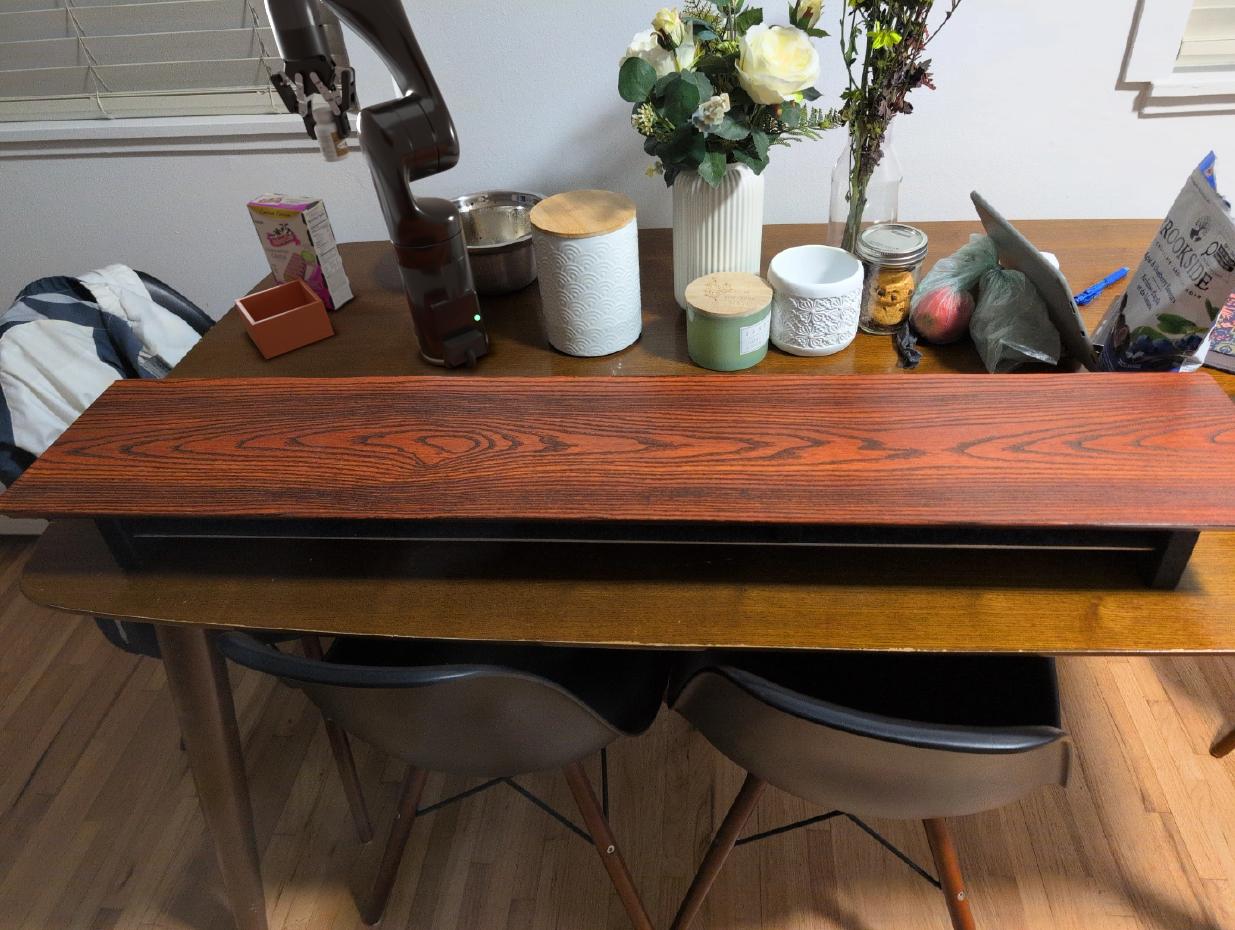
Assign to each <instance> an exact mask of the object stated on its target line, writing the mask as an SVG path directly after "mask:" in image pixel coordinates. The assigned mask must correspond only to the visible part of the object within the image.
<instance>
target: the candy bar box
mask: <svg viewBox="0 0 1235 930" xmlns="http://www.w3.org/2000/svg"><path fill="white" fill-rule="evenodd" d="M245 205H246V208H247V210H248V212H249V215H250V219H251V220H252V224H253V226H254V228H255V231H256V234H257V236H258V239H259V242H260V244H261V247H262V250H263V251H264V254H265V257H266V260H267V263H268V265H269V268H270V270H271V273H272V275H273V278H274V281H275V284H276V286H279V285H282V284H285V283H288V282H291V281H294V280H297V279H300V278H301V279H302V280H303V281H304V282H305V283H306V284H307V285H308V286H309V287H310V288H311V289H312V290H313V291H314V292H315V293H316V295H317V296H318V297H319V298H320V299H321V300H322V301H323V304H324V307H325V309H326V310H332V311H336V310H339V308H341V307H342V306H344V305H345V304H347V303H348V302H349V301H350V300H352V299H353V298H354V293H353V290H352V287H351V284H350V280H349V278H348V274H347V271H346V269H345V265H344V262H343V259H342V256H341V253H340V250H339V245H338V244H337V240H336V237H335V234H334V231H333V227H332V225H331V221H330V219H329V215H328V211H327V210H326V209H327V208H326V207H325V203H324V200H323V198H318V197H310V196H309V197H308V196H301V195H290V194H283V193H276V192H275V193H274V192H266V193H264V194H262V195H260V196H258V197H256V198H255V199H253V200H250V201H249V202H248V203H246V204H245Z"/></svg>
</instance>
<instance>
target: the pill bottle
mask: <svg viewBox="0 0 1235 930" xmlns="http://www.w3.org/2000/svg"><path fill="white" fill-rule="evenodd" d="M312 114H313V118H314V119H315V121H316V122H317V124H316V125H315V127H314V130H315V134H316V137H317V140H316V141H317V144H318V146H319V150H320V153H321V156H322V160H323V161H324V162H326V163H336V162H337V163H338V162H340V161H341V162H342V161H345V160H346V159H348V158H349V157H350V156H351V153H350V149H349V145H348V142H347V138H346V139H341V138H340V136H339V133H338V130H337V126H336V123H335V119H334V115H335V114H334V112H333V111H332V109H331V107H330V105H328V106H321V107H320V106H319V107H317V108H313V111H312Z"/></svg>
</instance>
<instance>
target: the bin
mask: <svg viewBox="0 0 1235 930" xmlns="http://www.w3.org/2000/svg"><path fill="white" fill-rule="evenodd" d="M233 301H234V304H235V306H236V308H237V311H238V313H239V316H240V319H241V321H242V323H243V325H244V327H245V330H246V333H247V334H248V336H249V337H250V339H251V340H252V342H253V343H254V344H255V346H256V347H257V348H258V350H259V351H260V353H261V354H262V356H263V357H264V359H265V360H268V359H272V358H275V357H277V356H280V355H283V354H285V353H288V352H291V351H293V350H297V349H299V348H301V347H304V346H307V345H310V344H312V343H315V342H319V341H321V340H324V339H326V338H329V337H332V336H334V335H335V333H334V331H333V327H332V324H331V321H330V319H329V315H328V312H327V309H326V308H325V307H324V304H323V301H322V300H321V299H320V298H319V297H318V296H317V295H316V293H315V292H314V291H313V290H312V289H311V288H310V287H309V286H308V285H307V284H306V283H305V282H304V281H303V280H302V279H301V278H300V279H297V280H294V281H291V282H288V283H285V284H282V285H279V286H277V285H276V286H273V287H270V288H267V289H265V290H261V291H258V292H255V293H252V294H249V295H247V296H243V297H240V298H237V299H234V300H233Z"/></svg>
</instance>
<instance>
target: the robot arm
mask: <svg viewBox="0 0 1235 930" xmlns="http://www.w3.org/2000/svg"><path fill="white" fill-rule="evenodd" d="M319 1H320V3H321V4H322V5H323V6H324V7H325V8H326V9H327V10H328V11H329V12H330V13H332V15H333V16H335V18H336V19H338V20H339V21H340V22H341V23H342V24H343V25H344V26H346V27H347V28H348V29H349V30H350V31H351V32H352V33H354V34H355V35H356V36H357V37H358V38H360V39H361V40H362V41H363V42H364V43H365V44H366V45H367V46H368V47H370V49H371V50H372V51H373V52H374V53H375V54H376V55H377V56H378V57H379V59H380V60H381V61H382V62H383V64H384V65H385V66H386V68H387V70H388V71H389V73H390V74H391V76H392V78H393V79H394V82H395V83H396V85H397V87H398V89H399V91H400V93H401V95H402V96H401V97H397V98H393V99H390V100H386V101H383V102H379V103H376V104H372V105H369V106H366V107H363V108H362V109H360V111H358V113H357V115H356V121H355V128H356V129H355V130H356V135H357V136H356V137H357V140H358V145H359V148H360V151H361V154H362V157H363V160H364V163H365V166H366V169H367V172H368V175H369V177H370V178H369V179H370V180H371V183H372V187H373V190H374V193H375V196H376V200H377V203H378V206H379V209H380V212H381V213H380V214H381V215H382V218H383V221H384V223H385V226H386V229H387V232H388V236H389V239H390V243H391V247H392V250H393V253H394V256H395V257H394V258H395V260H396V264H397V268H398V272H399V275H400V279H401V283H402V286H403V290H404V294H405V298H406V301H407V304H408V305H407V306H408V309H409V312H410V314H411V319H412V324H413V330H414V333H415V337H417V340H418V344H419V350H420V355H421V358H422V359H423V360H424V361H425V362H426V363H428V364H430V365H434V366H440V367H446V368H447V369H449V370H451V369H454V368H456V367H458V366H461V365H463V364H465V366H466V368H467V369H472V368H473V367H475V366H476V363H477V359H478V358H480V357H483V356H485V355H488V354H490V351H489V337H488V334H487V332H486V327H485V323H484V318H483V314H482V310H481V304H480V301H479V296H478V292H477V291H478V290H477V288H476V282H475V277H474V273H473V268H472V263H471V259H470V255H469V250H468V244H467V240H466V235H465V231H464V226H463V222H462V217H461V213H460V210H459V208H458V206H457V205H456V204H455V202H453V201H451V200H449V199H446V198H442V197H435V196H420V195H414V194H413V192H412V190H411V189H412V188H411V186H410V183H414V182H417V181H420V180H423V179H426V178H430V177H433V176H434V175H435V176H436V175H437V174H442V173H444V172H446V171H449V170H452V169H453V168H455V167H456V166H457V165H458V163H459V160H460V156H461V148H460V141H459V136H458V132H457V128H456V125H455V123H454V120H453V117H452V115H451V112H450V109H449V107H448V105H447V103H446V101H445V99H444V96H443V93H442V91H441V90H440V87H439V85H438V83H437V81H436V78H435V77H434V74H433V73H432V70H431V68H430V66H429V63H428V61H427V60H426V57H425V55H424V53H423V51H422V47H421V46H420V44H419V41H418V39H417V37H416V35H415V32H414V30H413V28H412V25H411V22H410V21H409V18H408V15H407V12H406V10H405V7H404V5H403V2H402V0H319ZM263 3H264V8H265V12H266V15H267V19H268V21H269V24H270V25H269V26H270V27H271V31H272V34H273V37H274V40H275V44H276V47H277V50H278V52H279V56H280V58H281V59H282V60H283V70H282V71H281V70H279V71H277V72H275V73H274V74H271V75H270V76H269V80H270V82H271V84H272V86H273V87H274V89H275V91H276V92H277V94H278V96H279V98H280V99H281V101H282V103H283V104H284V106H285V108H286V110H287V111H288V113H290V114H296V115H299V116H300V117H301V118H302V121H303V124H304V127H305V130H306V133H307V135H308V137H309V138H311V140H312V141H318V140H317V137H316V134H315V130H314V127H315V125H316V124H317V122H316V121H315V119H314V118H313V114H312V111H313V110H314V98H315V95H321V97H322V98H323V100H324V102H326V103H327V104H328V106H329V107H331V109H332V111H333V112H334V114H335V115H334V119H335V123H336V126H337V130H338V133H339V136H340V138H341V139H346V140H347V139H348V138H349V137H350V134H351V133H352V127H351V124H350V120H349V116H348V111H349V110H351V109H352V108H353V107H355V106H356V105H357V96H356V95H357V93H356V92H357V89H356V88H357V87H356V70H355V68H354V67H353V66H349V67H343V66H339V65H338V64H337V63H336V62H335V60H334V58H333V56H332V51H331V45H330V42H329V37H328V35H327V31H326V28H325V25H324V21H323V18H322V12H321V10H320V7H319V3H318V0H263ZM336 77H337V78H338V82H339V83H341V90H340V88H339V87H338V85H337V83H336V82H335V80H336ZM291 83H292V84H293V85H294V86H295V90H294V89H293V87H292V85H291ZM295 91H296V92H295Z"/></svg>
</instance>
